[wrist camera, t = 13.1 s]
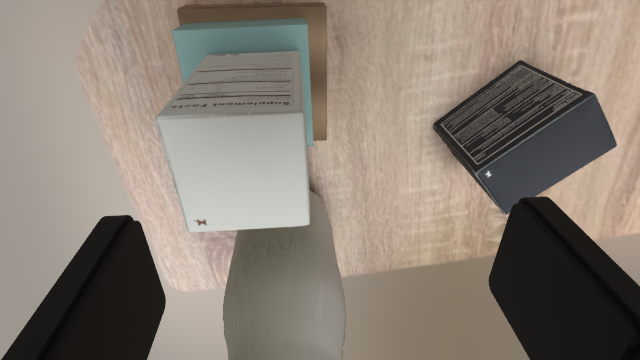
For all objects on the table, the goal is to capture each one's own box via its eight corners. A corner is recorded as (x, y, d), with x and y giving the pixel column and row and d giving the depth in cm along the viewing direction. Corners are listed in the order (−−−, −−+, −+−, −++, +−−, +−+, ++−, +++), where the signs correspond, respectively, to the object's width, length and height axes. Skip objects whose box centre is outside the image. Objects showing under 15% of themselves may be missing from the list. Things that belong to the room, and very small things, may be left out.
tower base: (187, 4, 33) (177, 9, 30) (323, 1, 34) (326, 6, 31) (209, 130, 39) (202, 144, 36) (323, 126, 40) (326, 140, 37)
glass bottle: (259, 246, 47) (227, 552, 23) (232, 178, 41) (152, 483, 17) (337, 229, 46) (387, 525, 22) (319, 158, 41) (359, 445, 17)
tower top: (183, 23, 30) (171, 30, 27) (305, 17, 31) (307, 24, 28) (206, 135, 36) (199, 152, 33) (311, 129, 36) (313, 145, 33)
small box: (459, 164, 43) (505, 220, 34) (430, 124, 40) (471, 173, 31) (547, 104, 39) (622, 149, 31) (521, 57, 37) (596, 90, 28)
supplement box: (306, 135, 32) (311, 230, 22) (219, 138, 32) (182, 237, 22) (302, 47, 28) (307, 112, 18) (204, 50, 28) (149, 117, 18)
